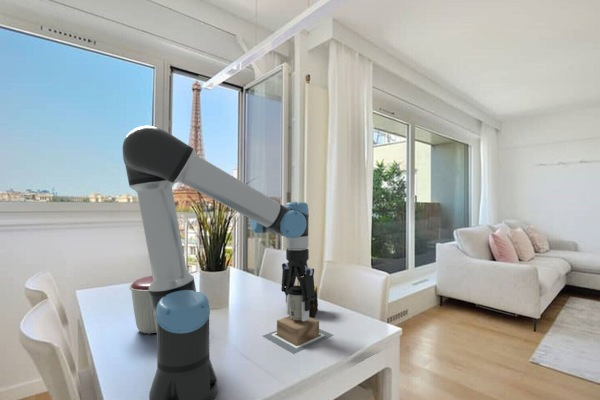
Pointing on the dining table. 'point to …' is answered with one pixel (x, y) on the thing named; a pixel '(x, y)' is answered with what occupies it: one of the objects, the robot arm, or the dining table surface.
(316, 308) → the candle
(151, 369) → the dining table surface
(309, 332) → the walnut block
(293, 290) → the coffee cup
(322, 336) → the gray placemat
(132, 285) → the canister
